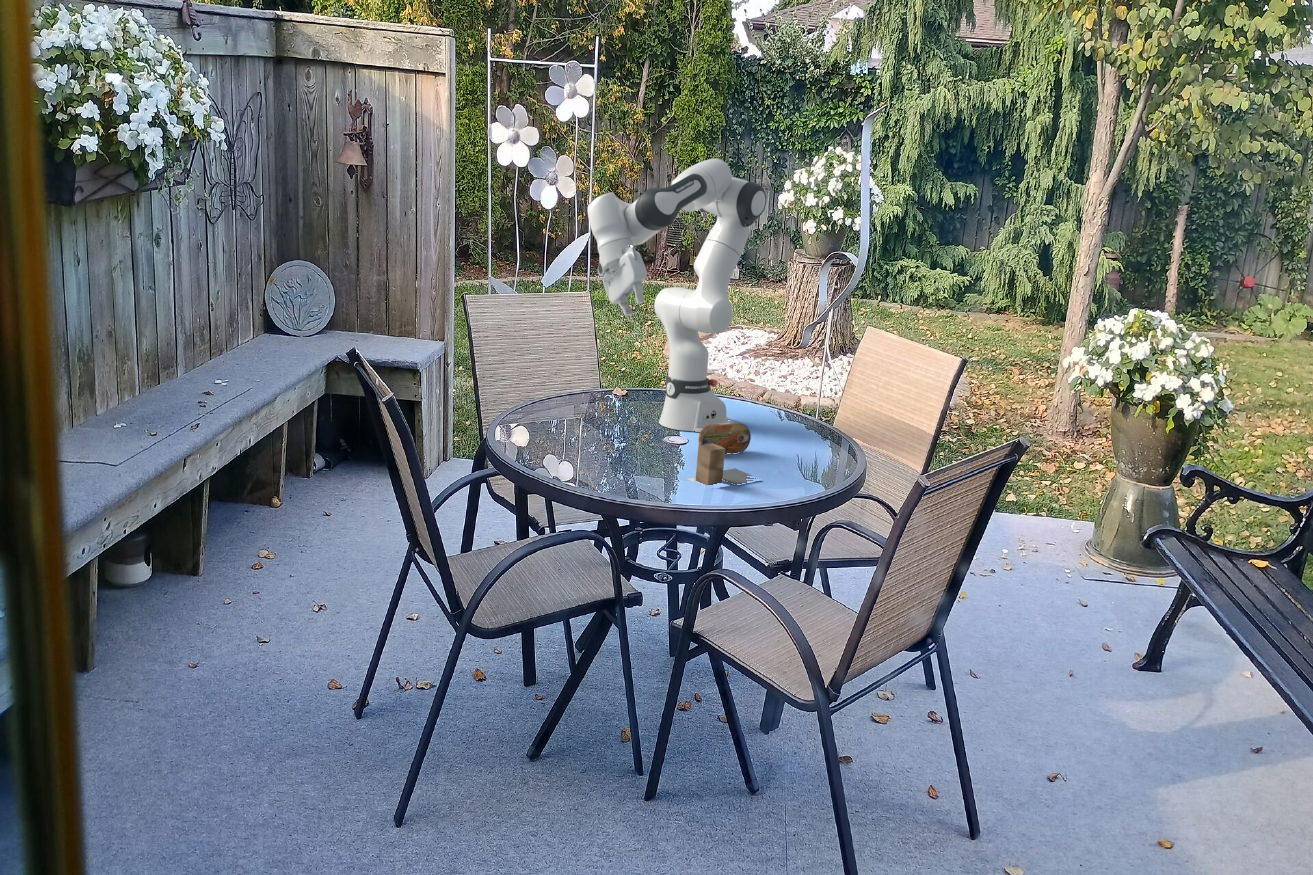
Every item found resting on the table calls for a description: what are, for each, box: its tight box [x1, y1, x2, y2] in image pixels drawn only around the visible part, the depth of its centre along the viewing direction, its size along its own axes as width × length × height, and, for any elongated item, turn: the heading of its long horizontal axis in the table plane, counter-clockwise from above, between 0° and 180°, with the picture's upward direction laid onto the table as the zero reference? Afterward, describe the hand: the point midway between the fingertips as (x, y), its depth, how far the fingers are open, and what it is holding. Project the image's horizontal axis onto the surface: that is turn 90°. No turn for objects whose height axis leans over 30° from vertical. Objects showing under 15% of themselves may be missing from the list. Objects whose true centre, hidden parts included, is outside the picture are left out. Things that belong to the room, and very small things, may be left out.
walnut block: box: [695, 444, 725, 485], centre depth 268 cm, size 5×5×9 cm
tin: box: [698, 421, 752, 454], centre depth 294 cm, size 15×3×8 cm, turn 117°
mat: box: [722, 468, 756, 485], centre depth 274 cm, size 9×10×1 cm
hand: (634, 309), depth 273 cm, fingers open, 8 cm apart
